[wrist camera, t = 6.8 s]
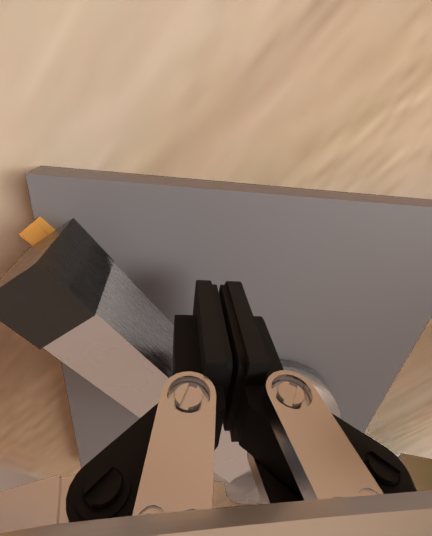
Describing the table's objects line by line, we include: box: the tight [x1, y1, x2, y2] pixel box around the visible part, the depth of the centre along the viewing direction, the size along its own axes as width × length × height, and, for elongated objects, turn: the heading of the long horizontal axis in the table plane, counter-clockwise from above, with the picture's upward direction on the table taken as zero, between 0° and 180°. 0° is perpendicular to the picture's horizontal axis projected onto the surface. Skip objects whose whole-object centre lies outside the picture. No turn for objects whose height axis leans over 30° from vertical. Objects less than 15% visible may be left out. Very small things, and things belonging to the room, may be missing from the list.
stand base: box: [19, 166, 432, 469], centre depth 17 cm, size 20×20×2 cm
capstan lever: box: [0, 218, 340, 504], centre depth 14 cm, size 10×21×5 cm, turn 31°
